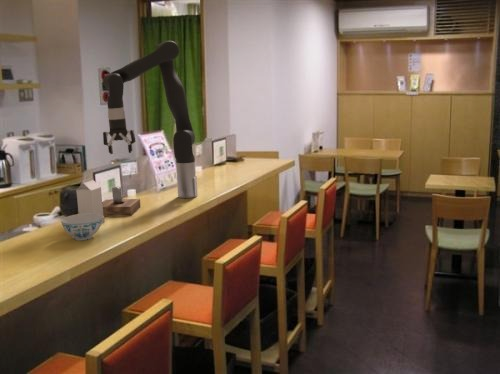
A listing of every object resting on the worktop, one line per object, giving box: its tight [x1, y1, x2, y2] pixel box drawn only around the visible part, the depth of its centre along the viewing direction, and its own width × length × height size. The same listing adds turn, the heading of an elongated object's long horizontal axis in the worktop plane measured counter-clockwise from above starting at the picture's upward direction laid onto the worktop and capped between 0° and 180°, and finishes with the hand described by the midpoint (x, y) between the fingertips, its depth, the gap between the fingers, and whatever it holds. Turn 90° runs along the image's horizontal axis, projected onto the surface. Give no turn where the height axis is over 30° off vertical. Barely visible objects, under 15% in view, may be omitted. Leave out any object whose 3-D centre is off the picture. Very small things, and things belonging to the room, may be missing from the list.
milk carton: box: [75, 176, 105, 224], centre depth 240 cm, size 7×7×19 cm
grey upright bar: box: [111, 186, 123, 204], centre depth 261 cm, size 4×4×10 cm
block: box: [102, 198, 142, 217], centre depth 261 cm, size 16×16×4 cm
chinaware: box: [60, 213, 103, 241], centre depth 220 cm, size 15×15×8 cm
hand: (120, 153), depth 269 cm, fingers open, 8 cm apart
